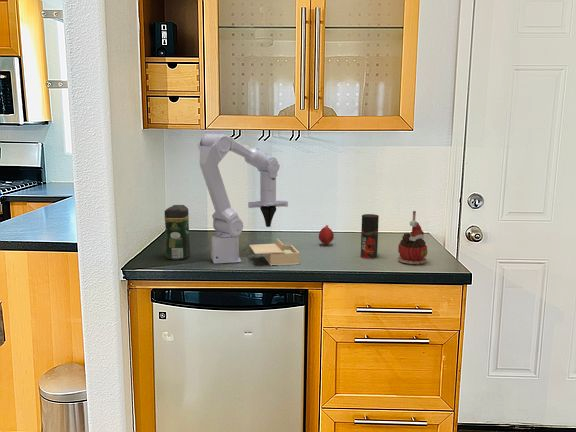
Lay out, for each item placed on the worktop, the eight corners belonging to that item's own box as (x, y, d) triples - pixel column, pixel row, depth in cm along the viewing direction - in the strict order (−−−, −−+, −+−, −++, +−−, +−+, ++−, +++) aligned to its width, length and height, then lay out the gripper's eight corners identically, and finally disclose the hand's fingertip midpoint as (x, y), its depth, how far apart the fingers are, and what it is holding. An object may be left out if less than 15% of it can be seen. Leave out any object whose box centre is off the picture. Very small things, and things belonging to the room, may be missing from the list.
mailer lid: (255, 254, 184) (255, 247, 183) (249, 245, 195) (249, 239, 195) (285, 252, 186) (285, 245, 185) (277, 244, 198) (277, 237, 197)
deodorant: (379, 255, 200) (381, 215, 197) (373, 259, 195) (374, 217, 192) (364, 253, 203) (365, 213, 200) (357, 257, 198) (359, 216, 195)
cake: (409, 256, 199) (411, 207, 195) (432, 262, 192) (434, 211, 189) (391, 262, 192) (393, 211, 188) (414, 267, 185) (417, 214, 182)
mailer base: (270, 265, 186) (270, 254, 185) (264, 256, 197) (264, 246, 196) (299, 264, 188) (299, 252, 187) (291, 255, 199) (291, 244, 199)
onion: (321, 247, 212) (321, 226, 211) (316, 243, 218) (316, 223, 216) (335, 246, 214) (336, 226, 212) (330, 243, 219) (330, 223, 218)
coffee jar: (170, 253, 201) (168, 203, 198) (191, 253, 201) (190, 203, 197) (163, 260, 192) (161, 207, 188) (186, 260, 191) (184, 208, 188)
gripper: (250, 191, 196) (250, 229, 198) (290, 190, 199) (289, 227, 202) (246, 189, 202) (247, 225, 205) (285, 188, 206) (285, 223, 209)
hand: (268, 226), depth 204 cm, fingers closed
